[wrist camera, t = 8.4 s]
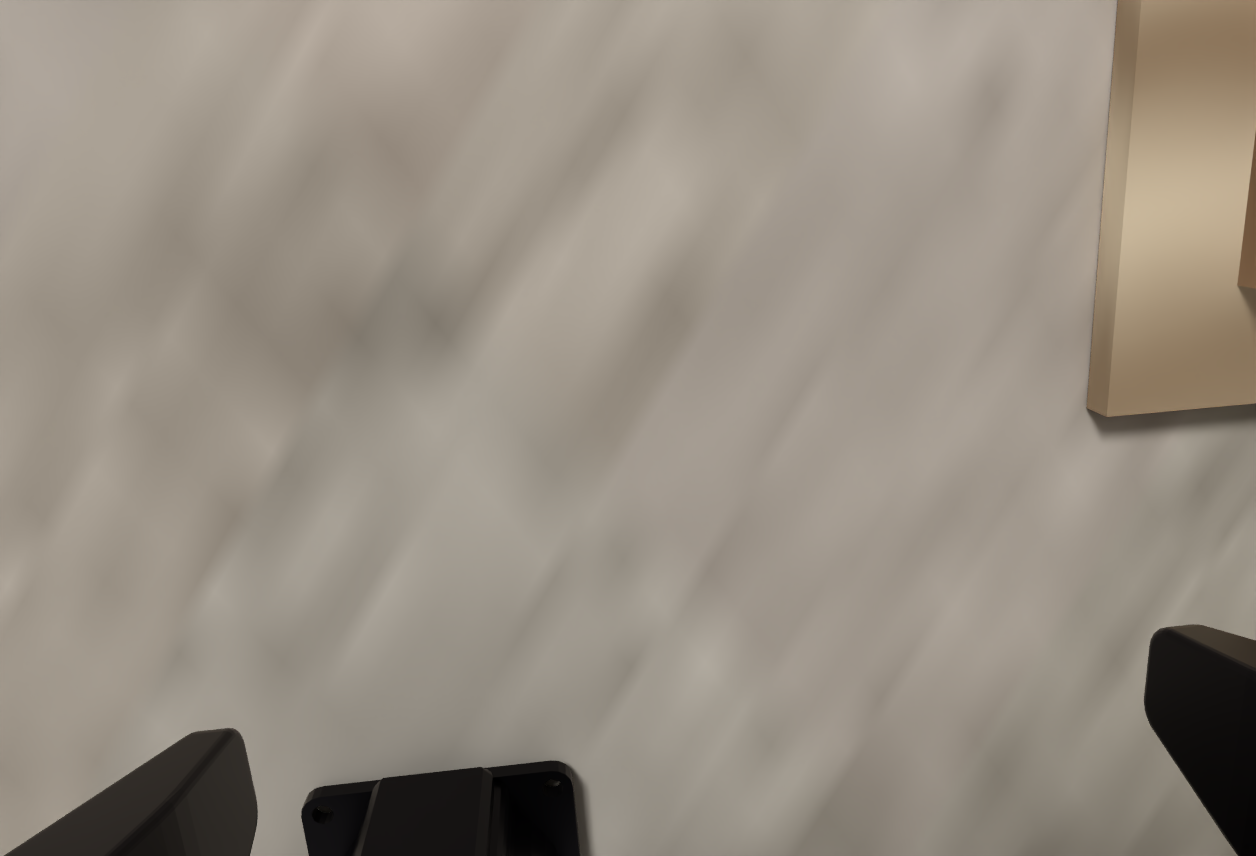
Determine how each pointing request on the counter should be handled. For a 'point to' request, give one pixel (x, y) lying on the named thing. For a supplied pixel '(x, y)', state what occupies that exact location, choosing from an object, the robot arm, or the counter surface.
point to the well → (1178, 212)
